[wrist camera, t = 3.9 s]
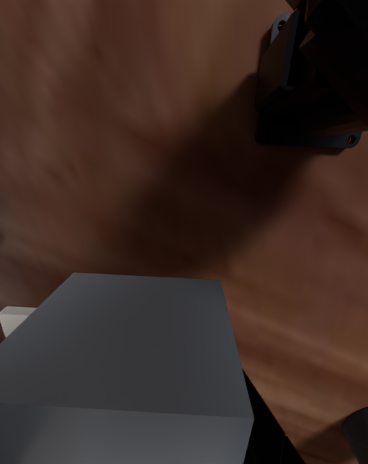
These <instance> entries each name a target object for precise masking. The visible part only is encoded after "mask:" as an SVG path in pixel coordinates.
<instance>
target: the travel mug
mask: <svg viewBox="0 0 368 464" xmlns="http://www.w3.org/2000/svg"><path fill="white" fill-rule="evenodd" d="M343 432H344V435H345V437H346V439H347V441H348V443H349V445H350V447H351V449H352V451H353V453H354V455H355V457H356V459H357V460H358V462H359V464H368V407H367V408H364V409H361V410H359V411H357V412H355V413H354V414H352V415H351V416H350V417H349V418H348V419H347V420H346V421H345V423H344V425H343Z"/></svg>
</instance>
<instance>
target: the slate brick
mask: <svg viewBox="0 0 368 464" xmlns="http://www.w3.org/2000/svg"><path fill="white" fill-rule="evenodd" d="M253 422H254V416H253V412H252V407H251V403H250V399H249V395H248V391H247V387H246V383H245V379H244V375H243V371H242V367H241V363H240V359H239V354H238V350H237V346H236V342H235V338H234V334H233V330H232V326H231V322H230V318H229V314H228V310H227V306H226V302H225V297H224V293H223V289H222V285H221V281H220V280H211V279H191V278H171V277H152V276H132V275H112V274H92V273H73V274H72V275H71V276H70V277H69V278H68V279H66V280H65V281H64V282H63V283H62V284H61V285H60V286H59V287H58V288H57V289H56V290H55V291H54V292H53V293H52V294H51V295H50V296H49V297H48V298H47V299H46V300H45V301H44V302H43V303H42V304H41V305H40V306H39V307H37V308H36V309H35V310H34V311H33V312H32V313H31V314H30V315H29V316H28V317H27V318H26V319H25V320H24V321H23V322H22V323H21V324H20V325H19V326H18V327H17V328H16V329H15V330H14V331H13V332H12V333H11V334H10V335H8V336H7V337H6V338H5V339H4V340H3V341H2V342H1V343H0V464H243V462H244V458H245V454H246V450H247V446H248V442H249V438H250V434H251V430H252V426H253Z"/></svg>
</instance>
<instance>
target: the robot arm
mask: <svg viewBox="0 0 368 464" xmlns="http://www.w3.org/2000/svg"><path fill="white" fill-rule="evenodd" d="M286 2H287V3H288V4H289V5H290V6H291V8H292V9H293V10H295V9H296V8H297V9H296V10H295V11H294V12H293V13H292V14H291V15H290V14H283V15H280V16H278V17H277V18H276V20H275V21H274V23H273V24H272V26H271V29H270V36H269V43H268V49H267V50H266V52H265V53H264V55H263V56H262V57H261V61H260V68H259V76H258V83H257V90H256V98H255V105H254V107H255V108H256V110H257V111H259V113H258V120H257V127H256V133H255V140H256V142H257V143H258V144H260V145H274V146H299V147H324V148H352V147H354V146H356V145H357V144H358V142H359V140H360V137H361V133H362V132H363V131H368V0H286ZM278 25H282V26H283V27H282V29H281V30H280V32H279V31H278V29H277V26H278ZM263 132H264V133H266V135H267V137H266V139H265V140H262V139H261V134H262V133H263ZM349 136H350V137H351V141H350V143H348V142H347V139H348V137H349ZM242 371H243V375H244V379H245V383H246V387H247V391H248V395H249V399H250V403H251V407H252V412H253V416H254V422H253V426H252V430H251V434H250V438H249V442H248V446H247V450H246V454H245V458H244V462H243V464H306V463H305V462H304V460H303V459H302V457H301V456H300V454H299V453H298V452H297V450H296V449H295V447H294V446H293V444H292V443H291V441H290V440H289V438H288V437H287V436H285V435H286V434H285V432H284V431H283V429H282V428H281V426H280V425H279V423H278V422H277V420H276V419H275V417H274V415H273V414H272V412H271V411H270V409H269V408H268V406H267V405H266V403H265V402H264V400H263V399H262V397H261V396H260V394H259V393H258V391H257V390H256V388H255V387H254V385H253V384H252V382H251V381H250V379H249V378H248V376H247V375H246V373H245V372H244V370H243V369H242Z"/></svg>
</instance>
